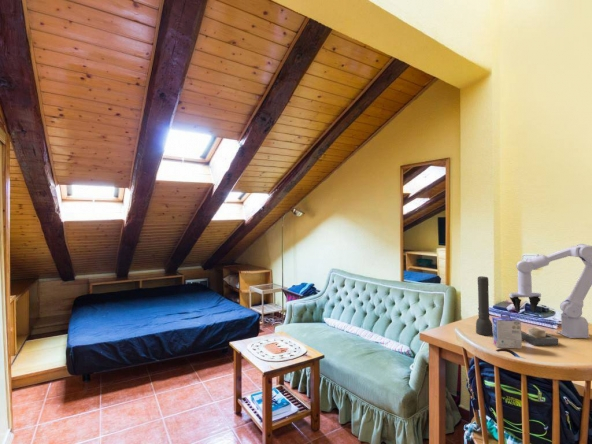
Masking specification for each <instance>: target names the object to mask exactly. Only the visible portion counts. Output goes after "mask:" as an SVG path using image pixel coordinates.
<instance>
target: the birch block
mask: <svg viewBox="0 0 592 444" xmlns="http://www.w3.org/2000/svg"><path fill="white" fill-rule="evenodd" d="M546 333H547V332H546V330H545V329H543V328H541V327H538V326H536V327H532V326H531V327H529V326H528V334H529V335H531V336H533V337H535V338H544V337H546Z"/></svg>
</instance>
